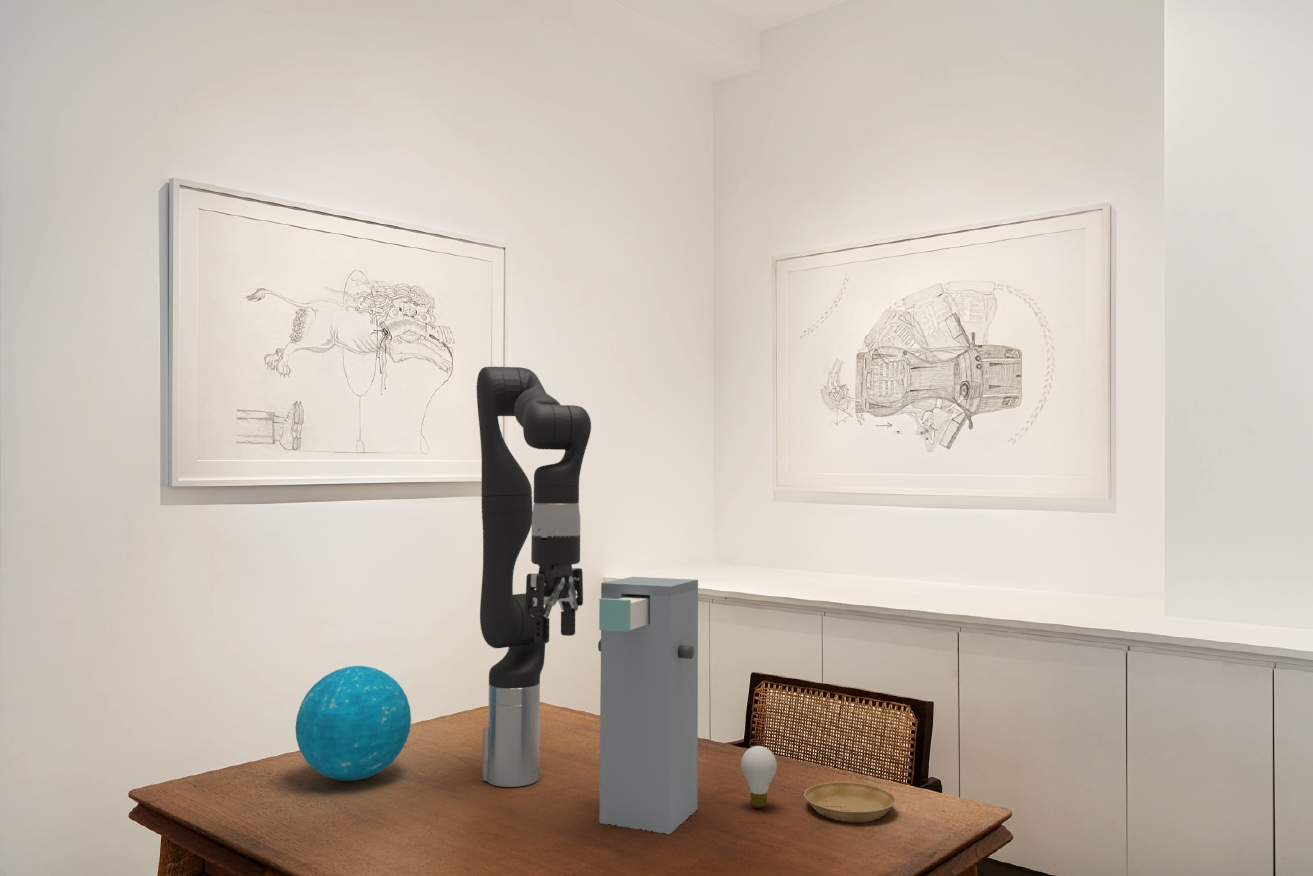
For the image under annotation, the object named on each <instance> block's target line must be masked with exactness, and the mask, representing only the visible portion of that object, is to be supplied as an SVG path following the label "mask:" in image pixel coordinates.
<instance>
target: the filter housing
mask: <svg viewBox="0 0 1313 876" xmlns="http://www.w3.org/2000/svg"><path fill="white" fill-rule="evenodd" d="M600 587H601V588H600V589H601V591H600V593H601V598H600V599H602V598H609V599H620V598H624V597H628V596H632V595H636V594H638V595H650V624H647V625H644V626H641V627H638V628H635V629H632V630H630V631H628V632H621V631H607V630H600V639H599V640H598V644H597V649H598V651H599V652H600V691H599V692H600V699H599V701H600V703H599V705H600V708H599V709H600V715H599V717H600V718H599V719H600V721H599V722H600V723H599V730H600V731H599V813H598V814H599V818H598V819H599V821H598V822H599V824H603V825H608V824H611V825H610V826H614V825H617V826H616V827H621V828H627V829H628V827H629V829H633V830H634V829H635V830H639V829H642V830H641V831H645V830H647V831H646V832H651V831H653V833H658V834H663V833H666V834H665V835H669V834H670V833H671V834H673V832H674V831H675V830H676V829H678V828H679V827H680V826H681V825H682V824H683V823H685V821H687V820H686V819H689V818H690V817H691V816H692V815H693V814H694V813H696V812H697V811H698V797H699V796H698V791H699V790H698V774H699V773H698V772H699V771H698V769H699V768H698V765H699V764H698V760H699V759H698V754H699V753H698V751H699V749H698V747H699V745H698V744H699V743H698V741H699V740H698V739H699V737H698V735H699V727H698V726H699V725H698V721H699V718H698V717H699V716H698V715H699V714H698V712H699V711H698V710H699V708H698V707H699V706H698V705H699V703H698V701H699V695H698V693H699V692H698V691H699V690H698V689H699V686H698V685H699V683H698V680H699V665H698V664H699V657H698V656H699V580H698V579H694V578H693V579H691V578H688V579H687V578H669V577H667V578H666V577H646V576H629V577H624V578H619V579H615V580H610V581H603V582H601V586H600ZM696 810H697V811H696ZM690 815H691V816H690ZM689 816H690V817H689ZM688 817H689V818H688ZM680 824H681V825H680ZM679 825H680V826H679ZM678 826H679V827H678ZM677 827H678V828H677ZM671 834H670V835H671Z"/></svg>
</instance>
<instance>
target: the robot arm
mask: <svg viewBox="0 0 1313 876" xmlns="http://www.w3.org/2000/svg"><path fill="white" fill-rule="evenodd" d="M476 402H477V406H476V407H477V416H478V425H479V436H480V452H481V454H480V455H481V486H480V487H481V490H480V491H481V519H482V520H481V521H482V579H481V591H480V607H479V623H480V630H481V634H482V637H483V639H484V642H486V644H487V645H488V646H489V647H491V648H493V649H505V648H508V650H507V652H506V653H505V655H504V656H503V658H501V660H499V661H498V662H497V663H495V664H493V666H492V667H491V668H490V669H489V672H488V711H487V712H488V721H487V722H488V723H487V725H485V726H484V727H483V732H482V733H483V735H482V736H483V739H482V740H483V741H482V742H483V743H482V748H483V749H482V781H484V782H487V783H489V784H490V785H493V786H497V787H504V788H513V787H514V788H516V787H517V788H518V787H523V786H528V785H533V784H534V783H536V782H537V781H539V779H540V778H539V774H540V772H539V771H540V723H541V722H540V720H541V719H540V711H541V710H540V707H541V706H540V704H541V703H540V702H541V700H540V699H541V696H540V695H541V683H540V682H541V674H542V671H543V668H544V665H545V659H546V657H545V656H546V654H545V653H546V644H548V643H549V642H550V618H549V616H550V613H551V612H552V609H553V607H554V606H556V605H557V603H558V605H559V607H560V609H561V611H560V634H561V636H568V637H570V636H572V637H573V636H574V635H575V634H576V612H578V609H579V607H581V606H583V605H584V597H583V596H584V588H583V585H584V583H583V580H584V578H583V575H584V574H583V569H582V568H581V567H580V568H579V567H573V566H574V565H577V564H579V563H580V562H581V513H580V504H579V503H580V476H581V470H582V465H583V462H584V456H585V453H586V449H587V447H588V445H589V443H588V442H589V440H590V437H591V432H592V421H591V417H590V415H589V412H587V410H586V409H585V408H584V407H582V406H579V405H574V404H573V405H571V404H569V405H568V404H567V405H565V404H560V403H561V402H559V401H558V400H557V399H556V398H554V397H552V396H551V395H550V394H548V393H547V392H546V390H545V388H544V386H543V384H542V383H541V381H540V379H539V377H538V376H537V374H536V373H535V372H534V371H533V370H531V369H529V368H526V367H522V366H521V367H519V366H518V367H516V366H513V367H512V366H483V367H482V368H481V369H480V370H479V372H478V374H477V380H476ZM499 417H515V420H516V421H517V423H518V424H519V425H520V427H521V428H522V430H523V431H522V433H523V438H524V441H525V443H526V444H527V446H529V447H531V448H533V449H537V450H558V451H559V450H560V451H564V454H563V456H562V458H561V460H560V461H558V462H555V463H551V464H546V465H545V464H544V465H542V466H539V467H537V468H536V469H535V471H534V474H533V490H532V485H531V483H530V479H529V478H528V475H526V473H525V471H524V469H523V468H522V466H521V465H520V464H519V463H518V461H517V460H516V458H515V457H514V456H513V454H512V451H510V449H509V447H508V446H507V443H506V442H505V439H504V437H503V434H502V431H501V428H500V427H501V426H500V422H499ZM532 495H533V496H532ZM530 530H531V542H530V543H531V545H530V546H531V550H530V551H531V553H530V554H531V555H530V557H531V558H530V559H531V563H532V564H534V565H538V572H537V573H528V574H526V581H525V583H526V585H525V593H517V594H514V592H513V591H514V588H513V586H514V571H515V565H516V562H517V561H518V557H519V555H520V552H521V551H522V548H523V547H524V544H525V543H526V540H527V539H528V535H529V534H530ZM572 565H573V566H572Z"/></svg>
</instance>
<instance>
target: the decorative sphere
mask: <svg viewBox="0 0 1313 876" xmlns="http://www.w3.org/2000/svg"><path fill="white" fill-rule="evenodd" d="M301 701H302V702H301V703H300V706H299V709H298V712H297V716H296V720H295V721H296V722H295V726H294V727H295V738H296V742H297V746H298V749H299V751H300V752H301V754H302V757H303V759H304V760H305V761H306V763H308V764H309V766H310V767H311V768H312V769H314V770H315V771H316V772H317V773H319V774H321V775H322V776H323V777H328V778H330V779H334V780H335V781H336V780H337V781H341V782H342V781H345V782H346V781H347V782H348V781H359V780H365V779H368V778H370V777H372V776H374V775H376V774H378V773H380V772H382V771H383V770H385V769H386V768H387V767H388V766H390V765H391V764H392V763H393V762H394V761H395V760H396V759H397V757H398V756H399V755H400V753H401V752H402V750H403V748H404V746H405V745H406V744H407V741H408V738H409V734H410V730H411V725H412V724H411V723H412V717H411V716H412V715H411V707H410V706H411V705H410V704H409V700H408V696H407V694H406V693H405V691H404V689H403V688H402V686H401V685H400V684H399V683H398V682H397V681H396V679H395V678H393V677H392V676H390V675H389V674H388V673H386V672H384V671H383V670H379V669H378V668H376V667H372V666H371V667H370V666H365V665H352V666H351V665H350V666H346V667H343V668H339V669H336V670H333V671H332V672H330V673H327V674H325V675H324V676H323V677H321V679H319V680H318V681H317V682H316V683H314V684H313V686H312V687H311V688H310V689H309V690H308V692H306V694H305V696H304V698H303V700H301Z"/></svg>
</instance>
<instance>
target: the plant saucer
mask: <svg viewBox="0 0 1313 876" xmlns="http://www.w3.org/2000/svg"><path fill="white" fill-rule="evenodd" d="M803 795H804V798H805V799H806V801H807V802H808V804H809V805H810V806H811V807H812V809H814V811H816V812H817V813H818V814H819V815H821V816H822V815H823V817H824V816H826V817H825V818H827V817H828V818H827V819H830V818H831V819H830V820H833V819H837V820H836V821H838V820H842V821H841V822H844V821H849V822H848V823H868V821H869V822H874V821H877V820H879V819H881V818H882V817H884V816H885V815H886V814H888V812H889V811H890V810H891V809H892V808H893V806H894V805H895V804H896V802H897V800H896V797H895V795H894V794H892V793H891V791H890V792H889V791H888V790H886V789H884V788H881V787H878V786H875V785H870V784H867V783H866V784H865V783H859V782H850V781H849V782H847V781H837V782H834V781H833V782H832V781H831V782H824V783H819V784H815V785H812V786H811V787H808V788H807V789H805V791H804V794H803ZM823 801H824V802H823ZM825 801H827V802H825ZM829 801H830V802H829ZM823 806H825V807H823ZM826 806H829V807H826ZM830 806H842V807H843V808H842V809H841V808H840V807H838V808H837V807H835V808H834V807H830ZM844 806H846V807H844ZM841 810H851V811H841ZM876 819H877V820H876ZM873 820H874V821H873Z"/></svg>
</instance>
